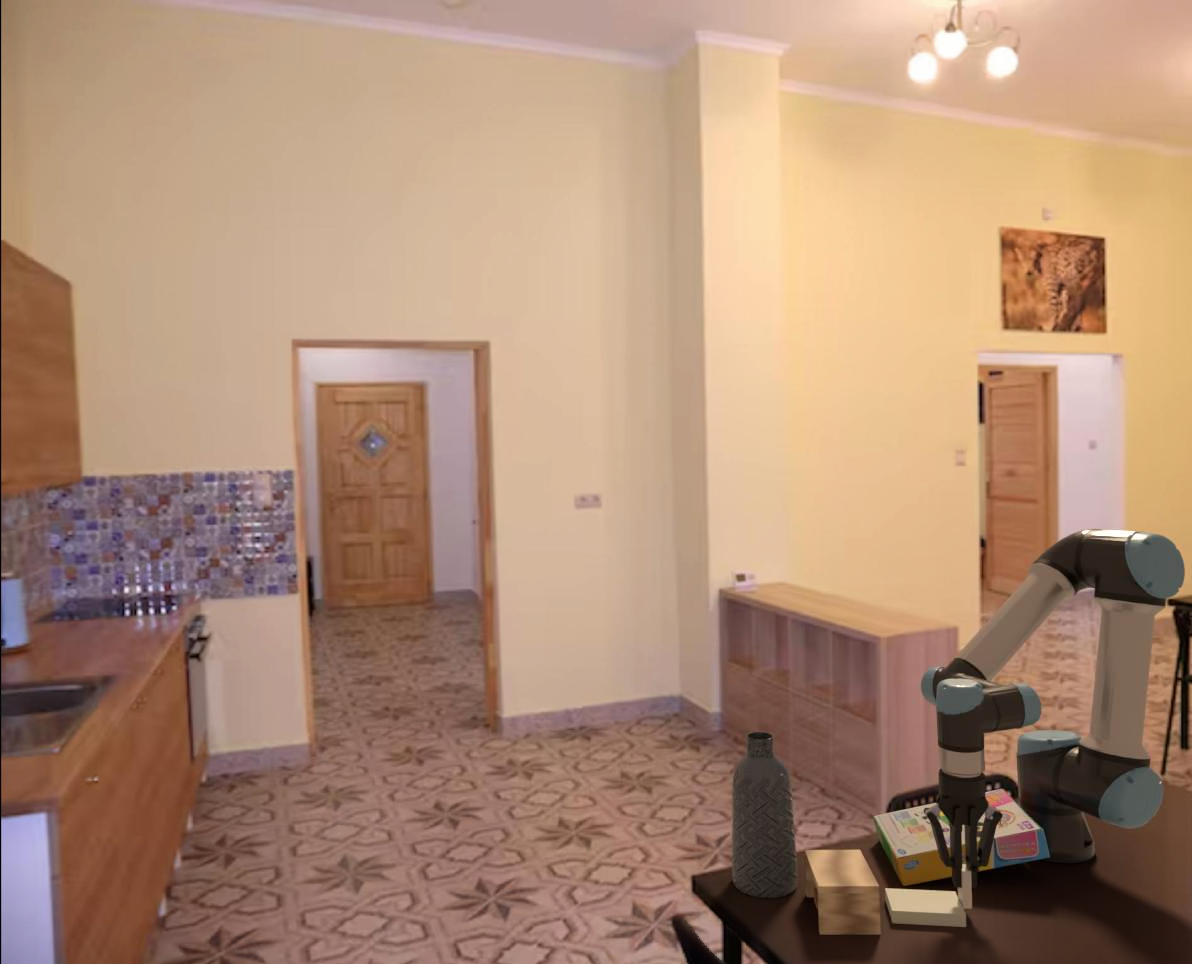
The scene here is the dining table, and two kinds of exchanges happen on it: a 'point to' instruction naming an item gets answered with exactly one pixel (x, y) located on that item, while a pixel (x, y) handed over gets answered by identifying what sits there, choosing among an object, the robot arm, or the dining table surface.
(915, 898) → the thin cream tile
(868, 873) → the overhang
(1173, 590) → the robot arm
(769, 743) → the vase
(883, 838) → the game box
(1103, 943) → the dining table surface
